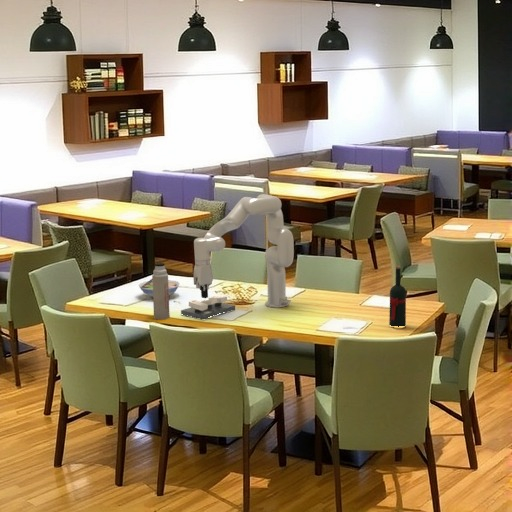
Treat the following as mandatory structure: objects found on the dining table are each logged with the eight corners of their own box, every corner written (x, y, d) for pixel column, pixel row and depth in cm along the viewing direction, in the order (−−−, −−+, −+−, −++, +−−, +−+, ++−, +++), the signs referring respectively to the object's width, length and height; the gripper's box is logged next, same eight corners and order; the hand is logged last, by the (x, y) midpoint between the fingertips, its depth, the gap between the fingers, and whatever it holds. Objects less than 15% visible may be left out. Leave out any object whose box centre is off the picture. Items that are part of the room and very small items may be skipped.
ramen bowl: (171, 303, 514) (170, 288, 513) (132, 301, 520) (131, 286, 518) (186, 292, 538) (186, 278, 536) (148, 291, 544) (148, 277, 542)
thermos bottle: (172, 316, 488) (170, 262, 482) (163, 320, 481) (161, 265, 475) (160, 314, 492) (158, 261, 486) (150, 318, 485) (148, 264, 479)
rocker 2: (217, 302, 491) (216, 297, 491) (211, 304, 488) (210, 299, 488) (205, 305, 497) (204, 300, 497) (199, 306, 494) (198, 302, 494)
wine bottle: (384, 328, 458) (385, 267, 452) (393, 323, 466) (393, 263, 460) (399, 330, 454) (400, 269, 448) (408, 325, 462) (409, 265, 456)
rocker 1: (207, 309, 486) (207, 304, 486) (201, 310, 483) (201, 306, 482) (194, 304, 492) (194, 299, 491) (188, 306, 488) (188, 301, 488)
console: (235, 310, 498) (235, 303, 497) (203, 319, 480) (203, 312, 479) (212, 305, 508) (212, 298, 507) (181, 315, 490) (180, 307, 489)
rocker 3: (227, 301, 497) (226, 296, 497) (221, 302, 494) (220, 297, 494) (214, 300, 503) (214, 296, 503) (208, 302, 500) (208, 297, 499)
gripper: (207, 258, 488) (209, 293, 492) (187, 264, 477) (189, 300, 481) (218, 260, 483) (220, 295, 487) (197, 266, 472) (200, 301, 476)
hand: (204, 297), depth 484 cm, fingers closed
